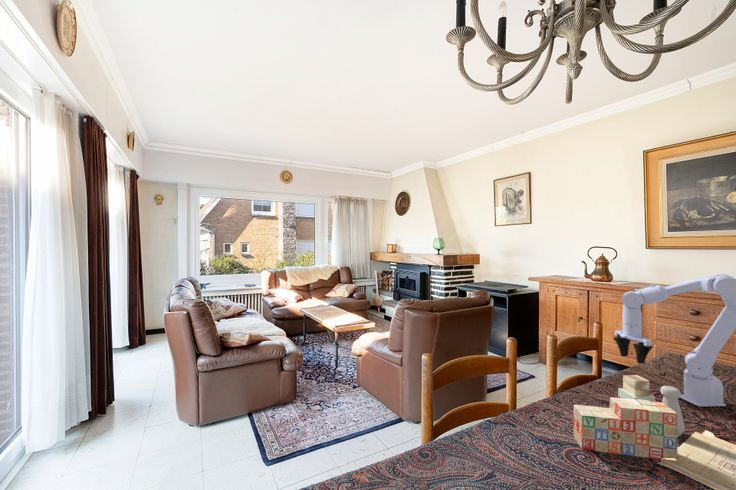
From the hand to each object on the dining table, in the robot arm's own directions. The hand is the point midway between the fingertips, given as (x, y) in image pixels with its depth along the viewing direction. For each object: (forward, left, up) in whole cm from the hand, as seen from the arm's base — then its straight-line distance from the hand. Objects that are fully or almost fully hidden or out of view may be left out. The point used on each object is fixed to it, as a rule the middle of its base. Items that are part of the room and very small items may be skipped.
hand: (632, 359), depth 126 cm
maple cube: (+8, +11, -7) cm, 15 cm away
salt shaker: (+14, +30, -11) cm, 35 cm away
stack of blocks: (+33, +36, -11) cm, 50 cm away
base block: (+8, +11, -10) cm, 17 cm away
